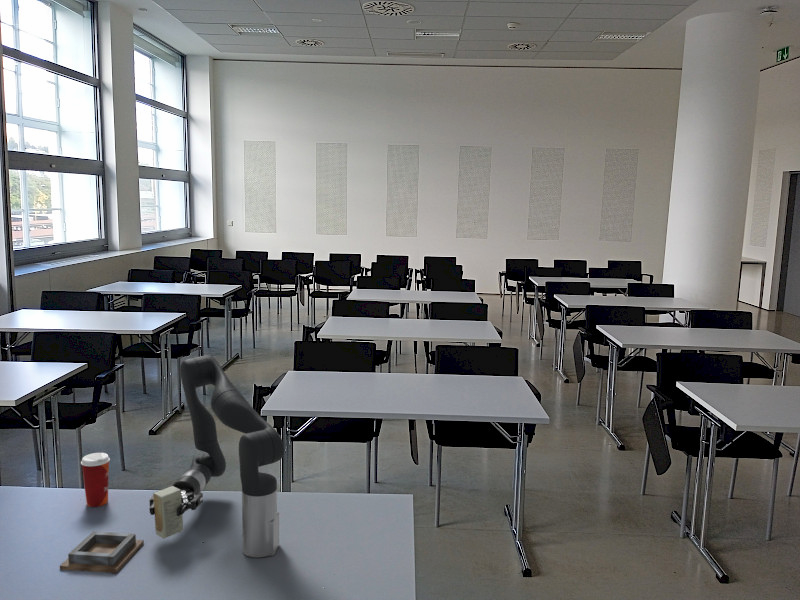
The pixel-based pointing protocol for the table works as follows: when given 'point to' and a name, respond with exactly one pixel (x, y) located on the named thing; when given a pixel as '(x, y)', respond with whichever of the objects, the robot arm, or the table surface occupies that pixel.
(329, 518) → the table surface
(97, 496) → the coffee cup
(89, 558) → the socket stand
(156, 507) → the skincare box
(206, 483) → the robot arm
